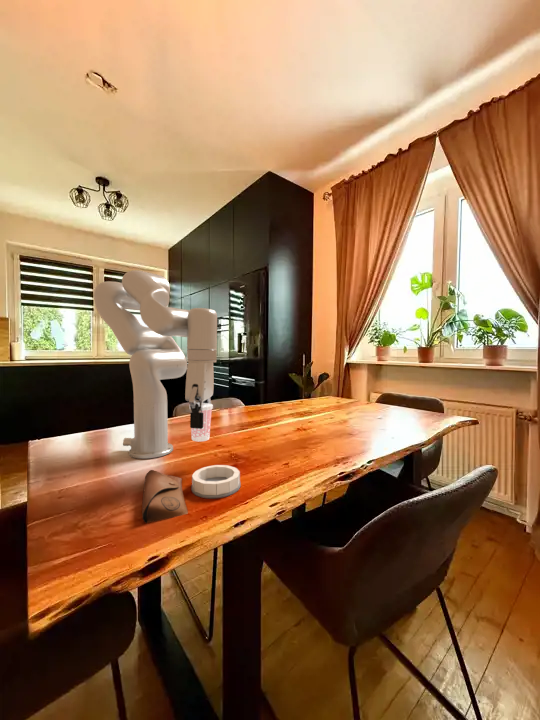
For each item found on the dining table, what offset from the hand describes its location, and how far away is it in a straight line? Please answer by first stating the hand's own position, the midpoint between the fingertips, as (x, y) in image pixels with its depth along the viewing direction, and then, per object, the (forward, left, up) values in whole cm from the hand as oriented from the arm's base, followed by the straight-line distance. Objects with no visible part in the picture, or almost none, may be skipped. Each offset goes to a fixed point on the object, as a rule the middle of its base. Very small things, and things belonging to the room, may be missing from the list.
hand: (200, 423), depth 79 cm
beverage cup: (0, 0, -4) cm, 4 cm away
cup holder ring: (+7, -10, -12) cm, 17 cm away
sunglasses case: (-3, -16, -12) cm, 21 cm away
